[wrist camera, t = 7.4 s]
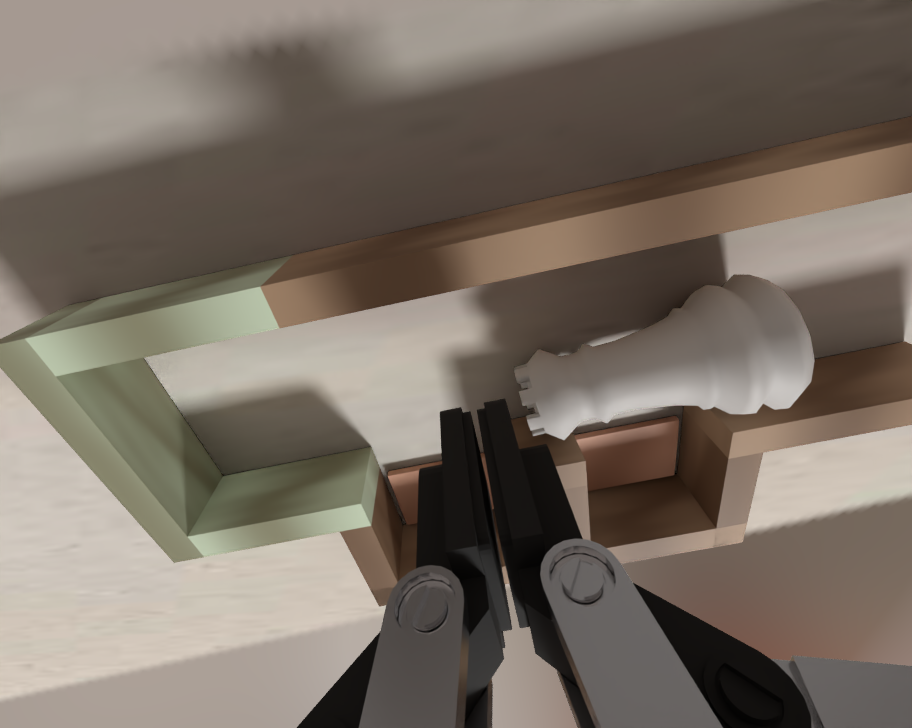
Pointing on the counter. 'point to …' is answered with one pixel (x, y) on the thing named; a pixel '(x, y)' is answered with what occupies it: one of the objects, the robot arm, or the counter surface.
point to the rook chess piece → (680, 362)
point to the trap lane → (576, 458)
